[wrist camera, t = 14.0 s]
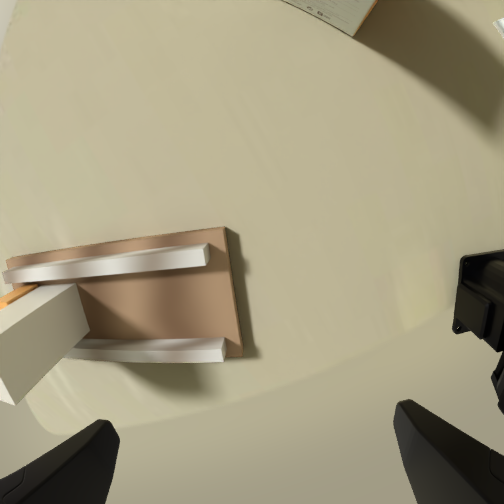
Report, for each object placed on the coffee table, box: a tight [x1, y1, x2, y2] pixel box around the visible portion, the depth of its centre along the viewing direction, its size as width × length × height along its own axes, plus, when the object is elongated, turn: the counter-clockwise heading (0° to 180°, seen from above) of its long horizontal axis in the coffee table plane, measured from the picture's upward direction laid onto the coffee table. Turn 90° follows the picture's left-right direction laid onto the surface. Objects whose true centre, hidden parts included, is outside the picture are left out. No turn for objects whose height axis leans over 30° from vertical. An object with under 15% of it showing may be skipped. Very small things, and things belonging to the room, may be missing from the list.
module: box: [0, 283, 90, 405], centre depth 16 cm, size 4×4×10 cm
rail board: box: [2, 227, 244, 363], centre depth 20 cm, size 20×9×3 cm, turn 97°
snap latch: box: [0, 284, 38, 310], centre depth 19 cm, size 2×4×4 cm, turn 7°
